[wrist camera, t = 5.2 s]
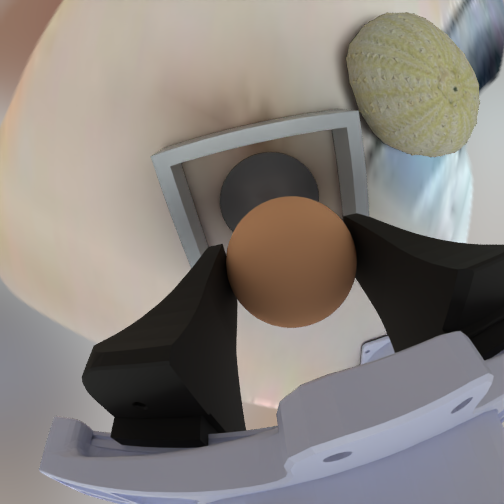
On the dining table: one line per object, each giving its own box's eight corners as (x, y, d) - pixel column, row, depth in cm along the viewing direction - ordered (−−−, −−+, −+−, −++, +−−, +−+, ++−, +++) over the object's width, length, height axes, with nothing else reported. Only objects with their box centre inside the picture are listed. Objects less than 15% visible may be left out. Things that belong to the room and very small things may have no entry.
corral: (355, 248, 19) (369, 267, 17) (209, 282, 19) (206, 305, 17) (341, 109, 14) (358, 110, 12) (162, 148, 15) (150, 156, 13)
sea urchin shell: (407, -16, 8) (521, 58, 5) (411, 59, 15) (489, 125, 12) (304, 44, 11) (436, 144, 8) (335, 118, 18) (415, 198, 15)
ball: (334, 265, 14) (373, 334, 10) (239, 288, 14) (247, 366, 10) (325, 171, 12) (382, 214, 7) (212, 195, 12) (206, 254, 7)
